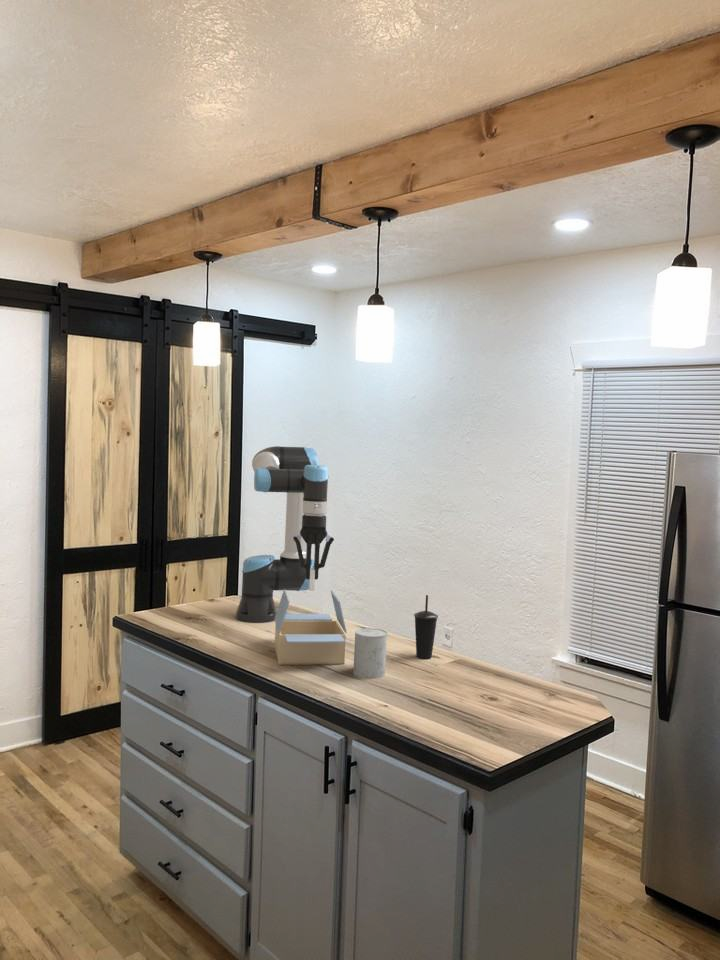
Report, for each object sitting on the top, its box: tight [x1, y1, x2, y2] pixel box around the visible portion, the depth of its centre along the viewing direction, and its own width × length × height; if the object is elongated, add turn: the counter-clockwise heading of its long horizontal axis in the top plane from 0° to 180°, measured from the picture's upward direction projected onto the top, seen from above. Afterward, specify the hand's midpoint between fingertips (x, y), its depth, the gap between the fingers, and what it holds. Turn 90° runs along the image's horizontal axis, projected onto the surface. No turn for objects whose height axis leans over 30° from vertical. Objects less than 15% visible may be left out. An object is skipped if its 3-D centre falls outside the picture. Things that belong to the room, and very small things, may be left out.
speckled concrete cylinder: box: [352, 627, 388, 680], centre depth 225 cm, size 10×10×12 cm
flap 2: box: [330, 589, 347, 634], centre depth 241 cm, size 17×10×1 cm
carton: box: [274, 613, 347, 666], centre depth 240 cm, size 34×20×9 cm, turn 10°
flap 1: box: [274, 590, 291, 633], centre depth 238 cm, size 17×10×1 cm
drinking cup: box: [413, 594, 439, 660], centre depth 244 cm, size 8×8×20 cm
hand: (311, 589), depth 239 cm, fingers closed
